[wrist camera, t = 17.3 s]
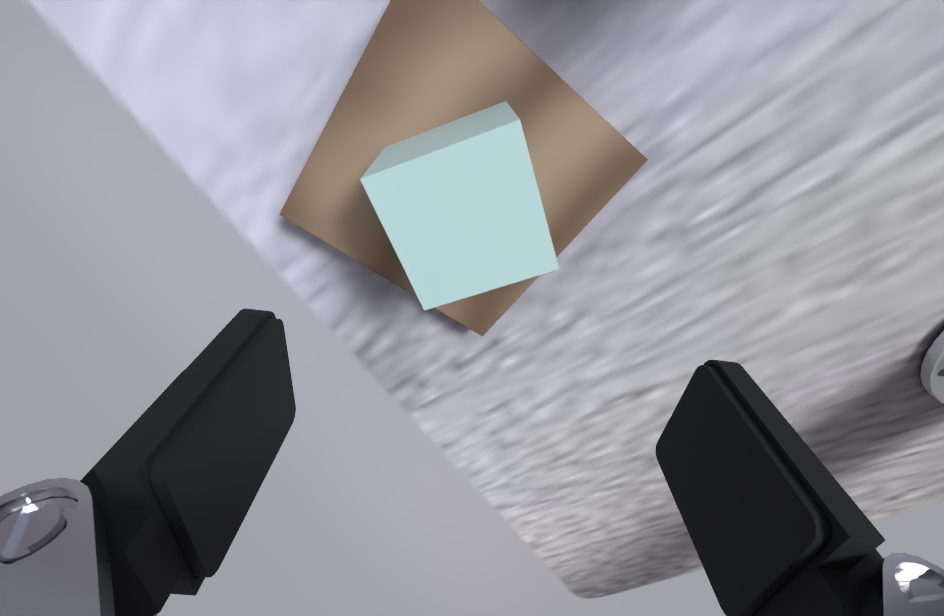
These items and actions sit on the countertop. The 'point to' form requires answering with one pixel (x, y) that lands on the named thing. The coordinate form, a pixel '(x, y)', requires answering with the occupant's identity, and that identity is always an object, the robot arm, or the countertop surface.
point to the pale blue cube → (463, 207)
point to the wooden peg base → (440, 102)
